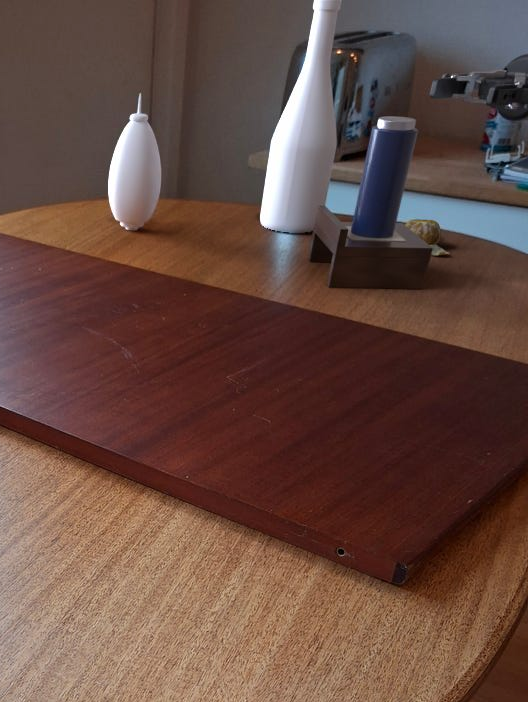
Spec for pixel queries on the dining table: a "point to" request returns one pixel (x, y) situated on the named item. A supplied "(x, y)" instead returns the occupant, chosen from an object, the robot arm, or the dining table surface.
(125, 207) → the air blower bulb
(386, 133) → the navy blue cylinder
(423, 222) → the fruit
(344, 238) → the shoe shelf
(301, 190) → the wine bottle
